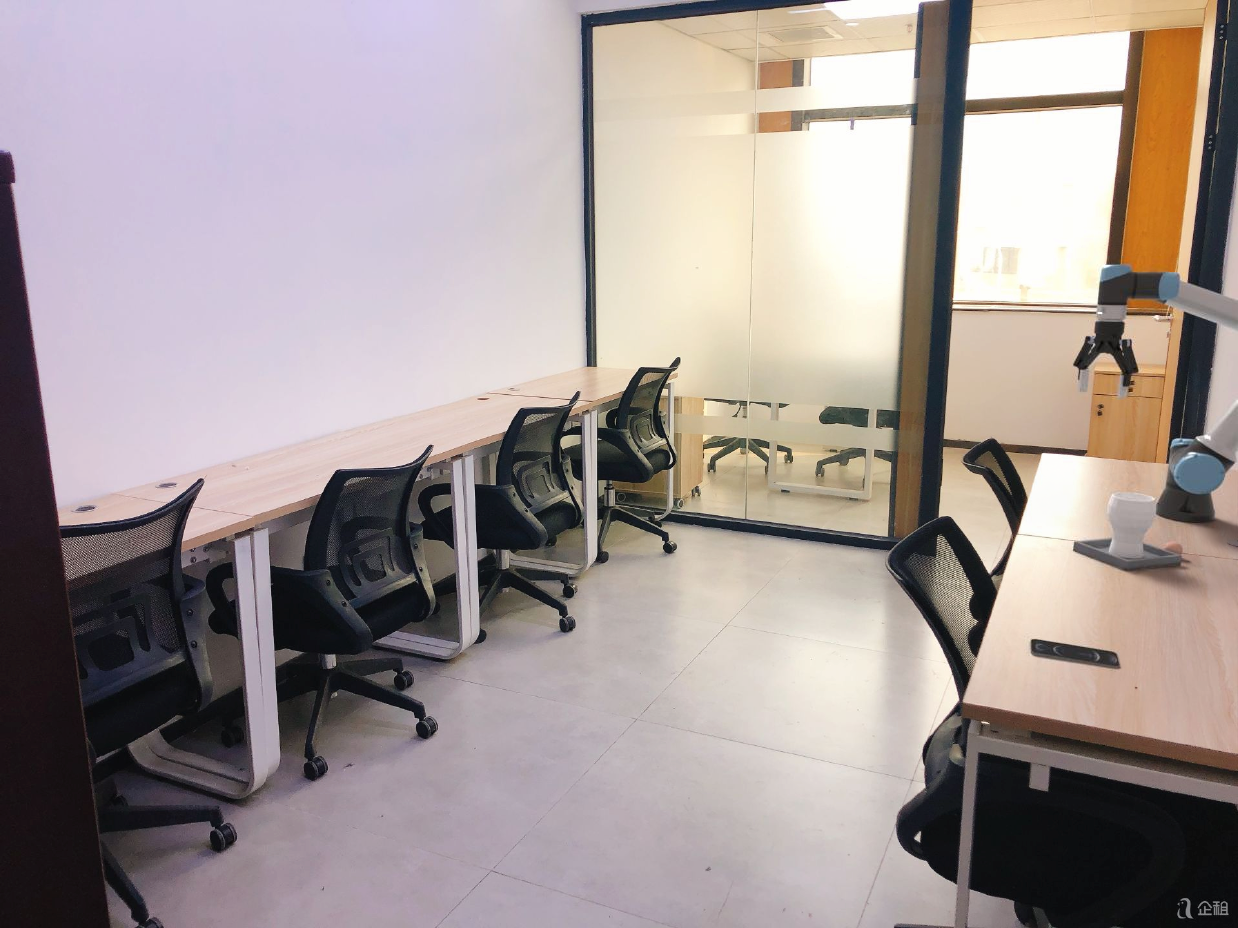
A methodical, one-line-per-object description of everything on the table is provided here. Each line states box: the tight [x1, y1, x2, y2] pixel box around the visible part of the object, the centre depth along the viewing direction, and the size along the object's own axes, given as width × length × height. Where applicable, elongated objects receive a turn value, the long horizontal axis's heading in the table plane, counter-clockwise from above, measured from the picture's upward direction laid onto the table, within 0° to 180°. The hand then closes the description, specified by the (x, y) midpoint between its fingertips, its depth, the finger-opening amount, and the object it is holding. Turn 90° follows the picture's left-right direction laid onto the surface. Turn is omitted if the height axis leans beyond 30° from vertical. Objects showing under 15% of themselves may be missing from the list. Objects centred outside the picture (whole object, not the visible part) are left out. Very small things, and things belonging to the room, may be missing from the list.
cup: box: [1106, 491, 1157, 559], centre depth 232 cm, size 11×11×15 cm
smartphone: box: [1030, 638, 1121, 669], centre depth 175 cm, size 8×1×15 cm
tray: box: [1072, 537, 1183, 572], centre depth 233 cm, size 17×17×2 cm
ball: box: [1163, 541, 1183, 555], centre depth 234 cm, size 4×4×4 cm
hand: (1101, 395), depth 266 cm, fingers open, 13 cm apart
